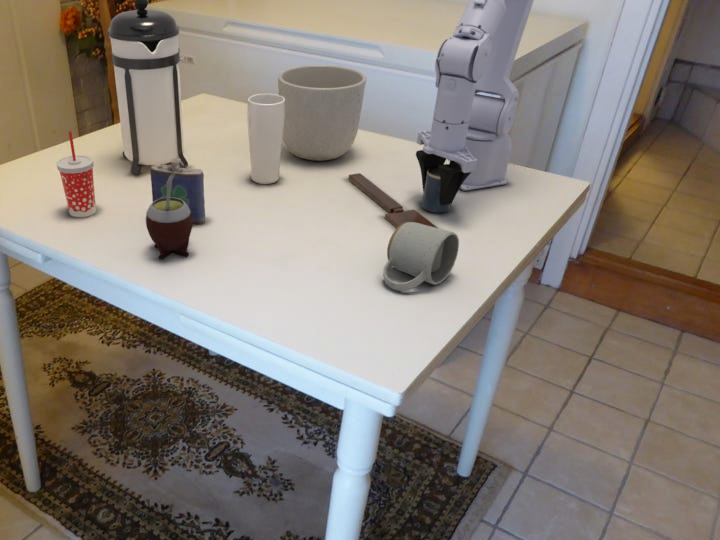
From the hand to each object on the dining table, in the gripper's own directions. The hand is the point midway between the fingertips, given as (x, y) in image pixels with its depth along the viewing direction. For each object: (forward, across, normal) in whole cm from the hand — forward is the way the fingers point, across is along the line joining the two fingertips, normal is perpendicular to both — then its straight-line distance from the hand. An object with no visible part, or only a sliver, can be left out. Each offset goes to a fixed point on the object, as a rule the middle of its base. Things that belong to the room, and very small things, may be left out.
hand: (437, 197), depth 118 cm
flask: (+2, -11, -44) cm, 45 cm away
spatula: (+2, -4, -8) cm, 9 cm away
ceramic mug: (+2, +20, -16) cm, 25 cm away
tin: (+2, 0, 0) cm, 2 cm away
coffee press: (+2, -39, -42) cm, 57 cm away
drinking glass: (+2, -22, -24) cm, 32 cm away
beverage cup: (+2, -20, -58) cm, 62 cm away
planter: (+2, -31, -8) cm, 32 cm away
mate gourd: (+2, 0, -48) cm, 48 cm away
